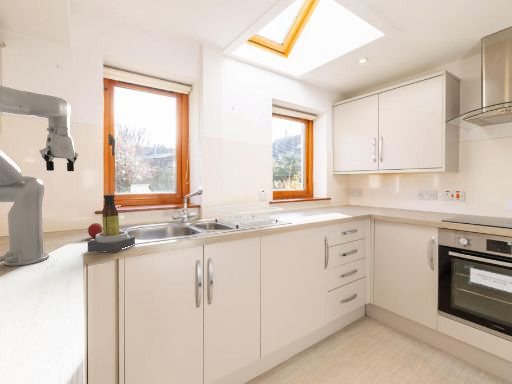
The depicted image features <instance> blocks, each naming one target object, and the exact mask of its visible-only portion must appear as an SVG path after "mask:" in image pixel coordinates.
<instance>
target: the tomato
mask: <svg viewBox="0 0 512 384" xmlns="http://www.w3.org/2000/svg"><path fill="white" fill-rule="evenodd" d="M102 232H103V225H101V223H98V222H94V223H91V224H90V225H89V226H88V228H87V233H88V236H89V237H91V239H96V235H97V234H99V233H102Z"/></svg>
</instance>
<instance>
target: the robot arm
mask: <svg viewBox="0 0 512 384" xmlns="http://www.w3.org/2000/svg"><path fill="white" fill-rule="evenodd" d="M71 111H72V109H71V106H70V104H69V102H67V100H65V99H64V98H61V97H57V96H55V95H54V96H52V95H49V94H42V93H36V92H32V91H31V92H30V91H27V90H26V91H25V90H21V89H16V88H12V87H9V86H8V87H7V86H3V85H0V112H1V113H8V114H15V115H23V116H24V115H25V116H35V117H38V118H45V119H47V122H48V127H46V131H47V132H48V134H47V137H46V140H45V141H46V143H45V147H44V148H41V149H40V150H39V153H40V155H41V157H42V158H43V161H45V167H46V171H48V172H50V171H51V172H52V171H53V172H54V170H55V163H54V161H53V160H54V159H65V160H66V171H67V172H74V171H75V166H74V165H75V163H76V161H77V158H78V156H79V154H78V153H77V152H76V151H75V148H74V147H75V146H74V141H73V137H72V136H71V133H70V131H71V130H70V129H71V128H70V115H71ZM45 190H46V189H45V185H44V183H43V181H42V180H41V179H39V178H37V177H34V176H27V175H26V176H25V175H24V176H23V172H22V169H21V168H20V166H19V165H18V164H17V163H15V161H14V160H13V159H12V158H10V157H9V156H8V155H7V154H6V153H5V152H4V151H3V150H2V149H1V148H0V203H13V205H11V207H10V209H9V211H8V213H7V224H8V228H7V229H8V246H9V247H8V248H9V250H8V251H6V252H5V254H3V255H0V263H1V262H3V264H4V266H9V267H12V266H23V265H24V266H25V265H31V264H35V263H39V262H43V261H45V260H47V259H49V257H50V254H49V253H47V252H44V251H45V249H44V233H43V231H44V229H43V227H44V226H43V200H44V195H45Z"/></svg>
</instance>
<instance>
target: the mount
mask: <svg viewBox="0 0 512 384" xmlns="http://www.w3.org/2000/svg"><path fill="white" fill-rule="evenodd" d="M119 231H120V234H119V235H115V236H104V234H103V231H102V233H99V234H97V235H96V238H91V239H89V241H87V251H88V252H92V251H106V252H105V253H107V252H108V253H111V254H115V253H118V252H121V251H122V250H121V249H122V248H125V247H128V246H131V245H133V244H135V245H136V238H135V237H136V236H130V235H129V234H128V231H125V230H119ZM128 235H129V236H128ZM131 247H132V246H131ZM120 250H121V251H120Z"/></svg>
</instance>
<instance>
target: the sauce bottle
mask: <svg viewBox="0 0 512 384" xmlns="http://www.w3.org/2000/svg"><path fill="white" fill-rule="evenodd" d="M103 199H104V207H103V209H102V211H101V212H102V213H101V214H102V218H101V219H102V232H103V234H104V236H115V235H119V234H120V231H121V230H120V219H119V211H118V209H117V207H116V203H115V194H104V195H103Z"/></svg>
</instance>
